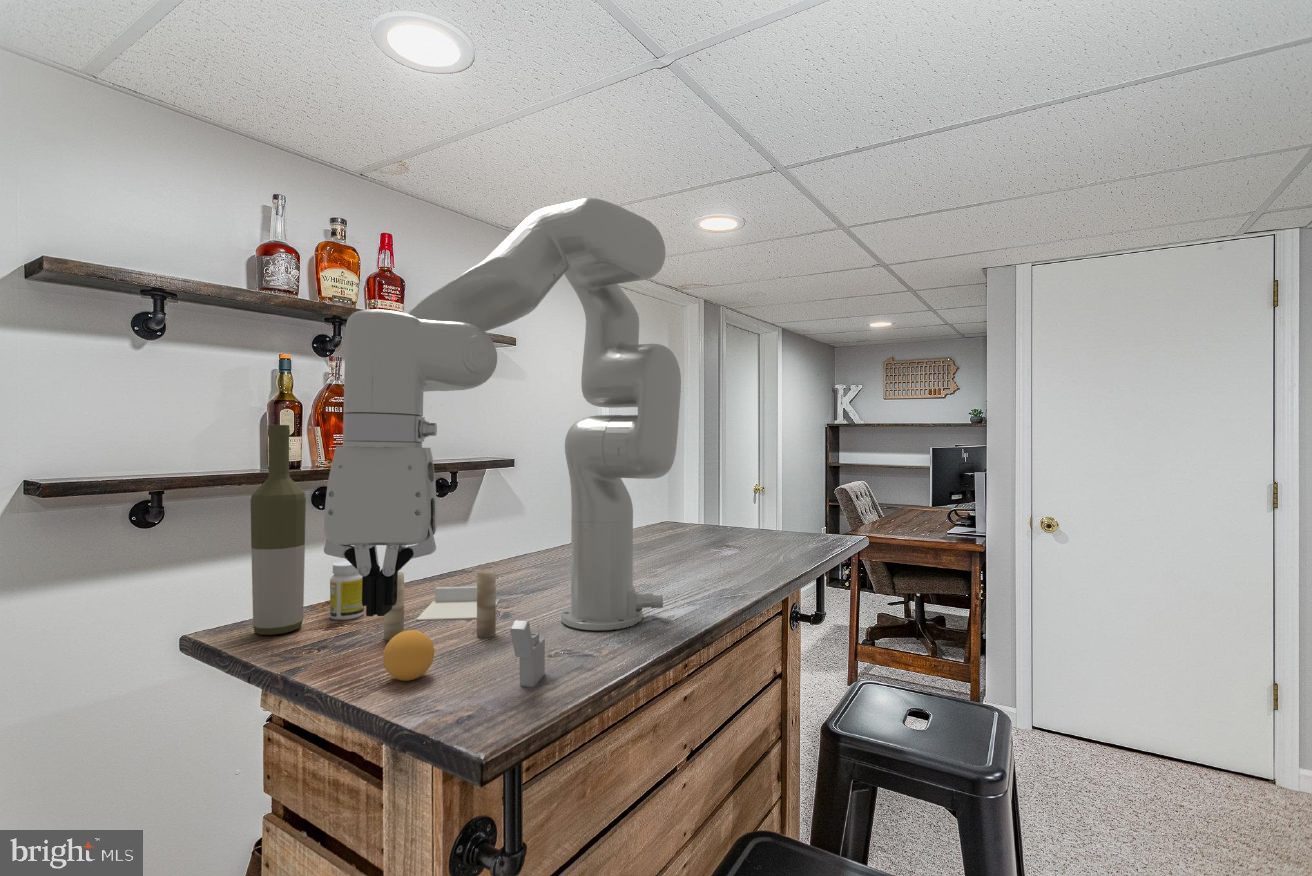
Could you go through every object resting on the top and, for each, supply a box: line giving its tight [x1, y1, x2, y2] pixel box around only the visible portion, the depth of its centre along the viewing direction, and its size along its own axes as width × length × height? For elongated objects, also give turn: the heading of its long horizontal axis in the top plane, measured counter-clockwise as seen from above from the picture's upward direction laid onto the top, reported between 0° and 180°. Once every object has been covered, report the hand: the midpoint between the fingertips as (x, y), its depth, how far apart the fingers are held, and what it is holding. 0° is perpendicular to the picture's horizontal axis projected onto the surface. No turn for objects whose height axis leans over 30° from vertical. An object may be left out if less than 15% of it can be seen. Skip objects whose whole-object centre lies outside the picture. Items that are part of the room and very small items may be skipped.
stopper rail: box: [434, 585, 477, 602], centre depth 109 cm, size 10×1×2 cm, turn 96°
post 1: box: [383, 571, 405, 642], centre depth 90 cm, size 3×3×9 cm
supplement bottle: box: [329, 560, 365, 621], centre depth 101 cm, size 5×5×8 cm
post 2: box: [476, 569, 497, 639], centre depth 91 cm, size 3×3×9 cm
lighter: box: [509, 619, 546, 688], centre depth 73 cm, size 7×2×8 cm, turn 172°
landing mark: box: [415, 598, 500, 621], centre depth 104 cm, size 11×11×1 cm
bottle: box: [250, 424, 307, 636], centre depth 93 cm, size 7×7×30 cm
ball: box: [382, 629, 435, 682], centre depth 75 cm, size 6×6×6 cm
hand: (379, 612), depth 65 cm, fingers closed
